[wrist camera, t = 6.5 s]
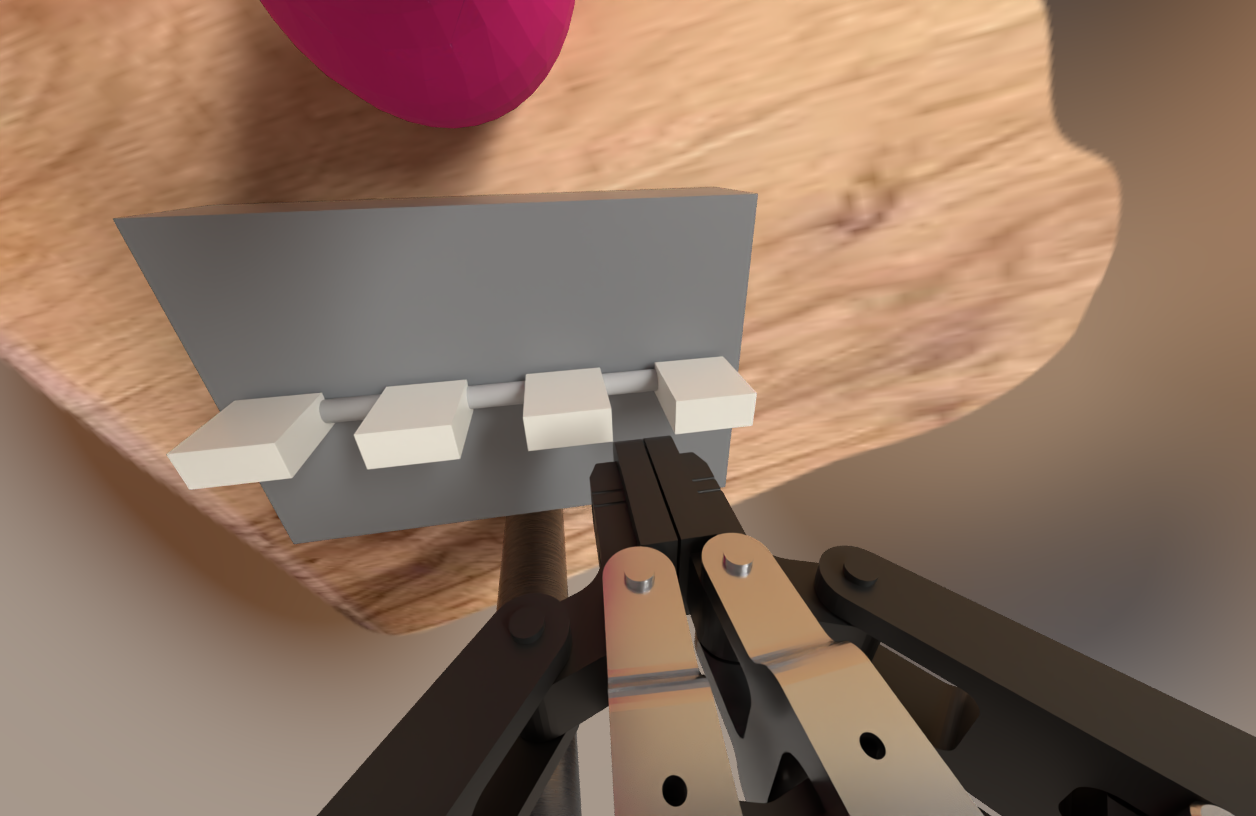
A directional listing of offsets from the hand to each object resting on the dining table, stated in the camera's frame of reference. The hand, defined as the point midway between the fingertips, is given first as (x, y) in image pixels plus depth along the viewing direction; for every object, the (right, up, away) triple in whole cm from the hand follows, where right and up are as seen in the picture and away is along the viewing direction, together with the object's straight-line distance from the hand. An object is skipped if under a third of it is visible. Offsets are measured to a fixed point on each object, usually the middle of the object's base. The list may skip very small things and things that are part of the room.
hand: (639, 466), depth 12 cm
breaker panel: (-6, +4, +8) cm, 10 cm away
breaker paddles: (-5, +2, +4) cm, 7 cm away
